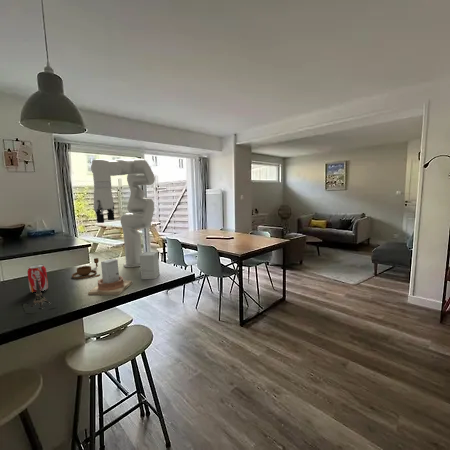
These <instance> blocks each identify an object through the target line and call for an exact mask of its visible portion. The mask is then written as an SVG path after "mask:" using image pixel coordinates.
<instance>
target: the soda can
mask: <svg viewBox="0 0 450 450" xmlns="http://www.w3.org/2000/svg"><path fill="white" fill-rule="evenodd" d="M36 276H37V278H38V283H39V288H40V291H44V290H45V291H47V290H49V281H48V273H47V269H46V266H45V264H42V263H38V264H33V265H30V266H29V265H28V270H27V280H28V286H29V287H28V288H29V290H30V293H33V292H36ZM45 291H44V292H45Z"/></svg>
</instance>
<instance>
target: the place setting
mask: <svg viewBox="0 0 450 450" xmlns="http://www.w3.org/2000/svg"><path fill="white" fill-rule="evenodd" d="M93 263H94V264H95V268H96V269H97V267H98V263H99V258H98V257H96V258H94V259H93ZM91 273H92V274H91ZM100 276H101V274H100V273H99V274H97V270H95V269H92V267H91V266H90V265H83V266H79V267H77V268H76V272H74V273H72V274H71V277H72V279H75V280H83V279H84V280H85V279H89V280H91V279H93V278H97V277H100Z"/></svg>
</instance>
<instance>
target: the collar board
mask: <svg viewBox="0 0 450 450" xmlns="http://www.w3.org/2000/svg"><path fill="white" fill-rule="evenodd" d="M132 284H133V280H124V277H123V276H121V275H119V281H116V282H113V283H103V278H102V277H101V278H100V279H98V280H97V285H96V286H95V287H93V288H92V289H90V290H89V291H88V292H87V295H92V296H93V295H95V296H97V295H100V296H101V295H105V296H106V295H109V296H111V295H112V296H115V295H118V296H119V295H120V294H122V293H123V292H124V291H125V290H126V289H127V288H128V287H129V286H131V285H132Z"/></svg>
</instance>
